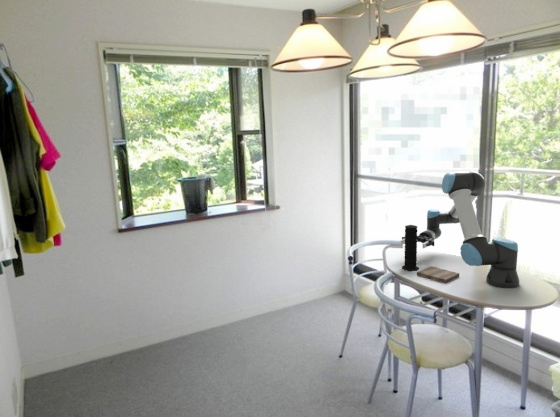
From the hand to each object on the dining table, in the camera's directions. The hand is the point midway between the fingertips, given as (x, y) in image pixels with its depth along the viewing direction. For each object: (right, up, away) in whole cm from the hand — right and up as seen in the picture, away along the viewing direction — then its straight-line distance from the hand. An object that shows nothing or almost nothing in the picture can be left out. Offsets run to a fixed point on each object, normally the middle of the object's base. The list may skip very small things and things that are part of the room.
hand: (411, 244), depth 236 cm
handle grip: (-1, -14, 0) cm, 14 cm away
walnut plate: (+10, -16, -14) cm, 24 cm away
